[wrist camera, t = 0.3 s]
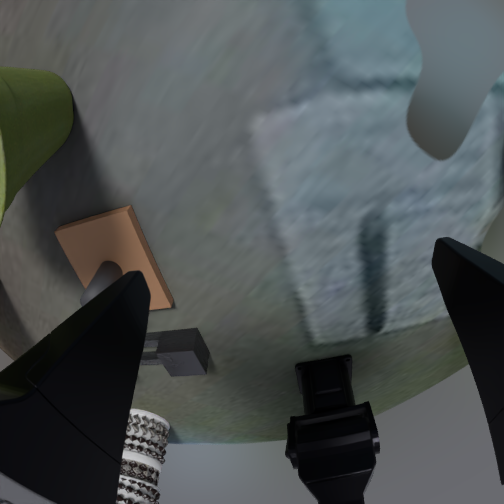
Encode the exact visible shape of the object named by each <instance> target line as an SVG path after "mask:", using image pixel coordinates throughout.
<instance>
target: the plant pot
mask: <svg viewBox="0 0 504 504" xmlns="http://www.w3.org/2000/svg"><path fill="white" fill-rule="evenodd" d="M73 119H74V115H73V105H72V95H71V92H70V90H69V88H68V86H67V85H66V83H65V82H64V81H63V79H62V78H60V77H59V76H58V75H56V74H54V73H52V72H49V71H44V70H35V69H24V68H14V67H0V227H1V224H2V221H3V217H4V213H5V211H6V210H7V209H8V208H9V206H10V205H11V203H12V201H13V200H14V197H15V195H16V193H17V192H18V191H19V190H20V189H21V188H22V187H23V185H24V184H25V183H26V182H27V181H28V180H29V179H30V178H31V177H32V176H33V174H34V173H35V172H36V171H37V170H38V169H39V168H40V167H41V166H42V165H43V164H44V163H45V162H46V161H47V160H48V159H49V158H50V157H51V156H52V155H53V154H54V153H55V152H56V151H57V150H58V149H59V148H60V147H61V146H62V145H63V144H64V143H65V141H66V139H67V138H68V136H69V133H70V131H71V128H72V125H73Z"/></svg>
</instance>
